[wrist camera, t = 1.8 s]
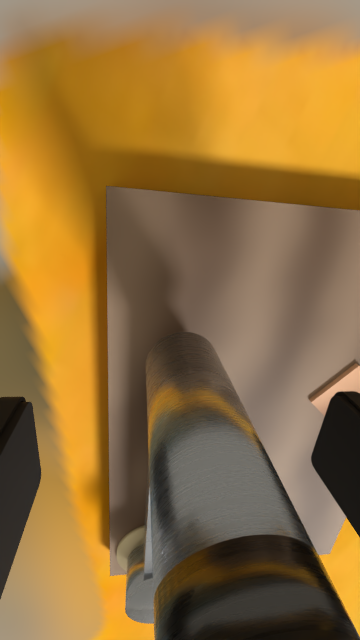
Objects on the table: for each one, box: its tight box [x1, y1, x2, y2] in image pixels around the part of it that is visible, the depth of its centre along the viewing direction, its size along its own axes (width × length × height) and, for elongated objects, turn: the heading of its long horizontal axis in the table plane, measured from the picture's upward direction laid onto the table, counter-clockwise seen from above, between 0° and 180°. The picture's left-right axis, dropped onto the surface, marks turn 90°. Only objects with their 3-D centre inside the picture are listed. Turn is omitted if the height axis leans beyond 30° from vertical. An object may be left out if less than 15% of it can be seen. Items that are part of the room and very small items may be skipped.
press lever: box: [125, 332, 360, 640], centre depth 13 cm, size 4×22×11 cm, turn 175°
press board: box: [106, 186, 360, 576], centre depth 19 cm, size 19×28×2 cm
